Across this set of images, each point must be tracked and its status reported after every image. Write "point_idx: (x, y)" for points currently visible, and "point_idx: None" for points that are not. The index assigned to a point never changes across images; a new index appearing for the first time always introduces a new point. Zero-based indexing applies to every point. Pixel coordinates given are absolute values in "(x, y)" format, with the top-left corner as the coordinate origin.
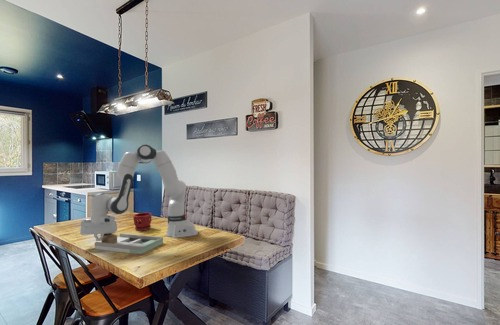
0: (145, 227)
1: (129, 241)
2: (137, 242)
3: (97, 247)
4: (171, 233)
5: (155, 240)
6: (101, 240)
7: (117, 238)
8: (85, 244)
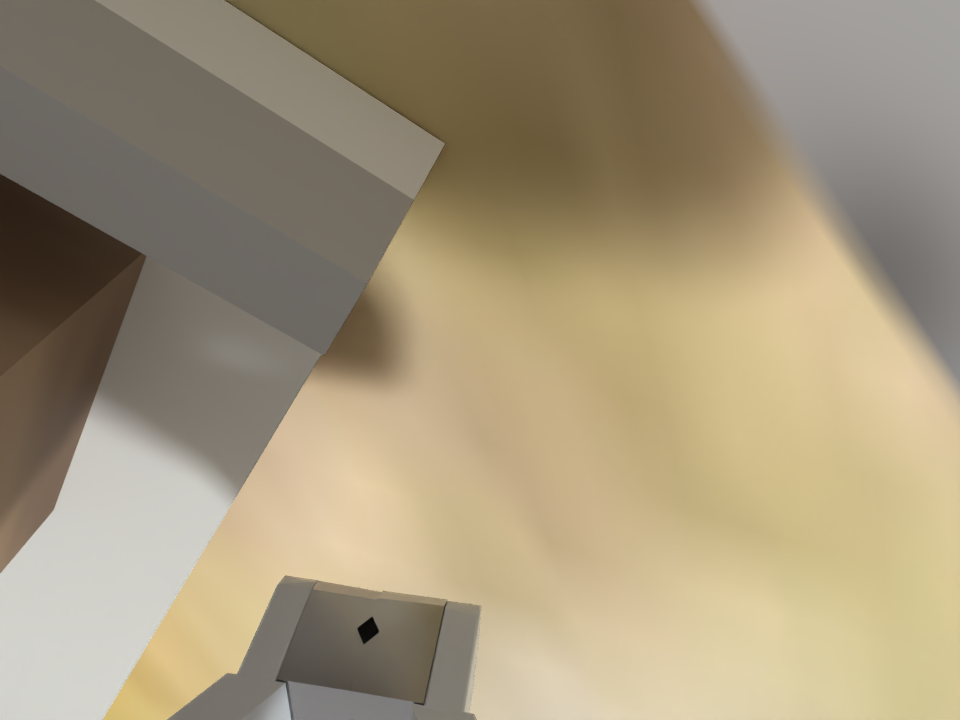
0: None
1: None
2: None
3: (277, 74)
4: None
5: None
6: (18, 363)
7: (14, 691)
8: (875, 695)
